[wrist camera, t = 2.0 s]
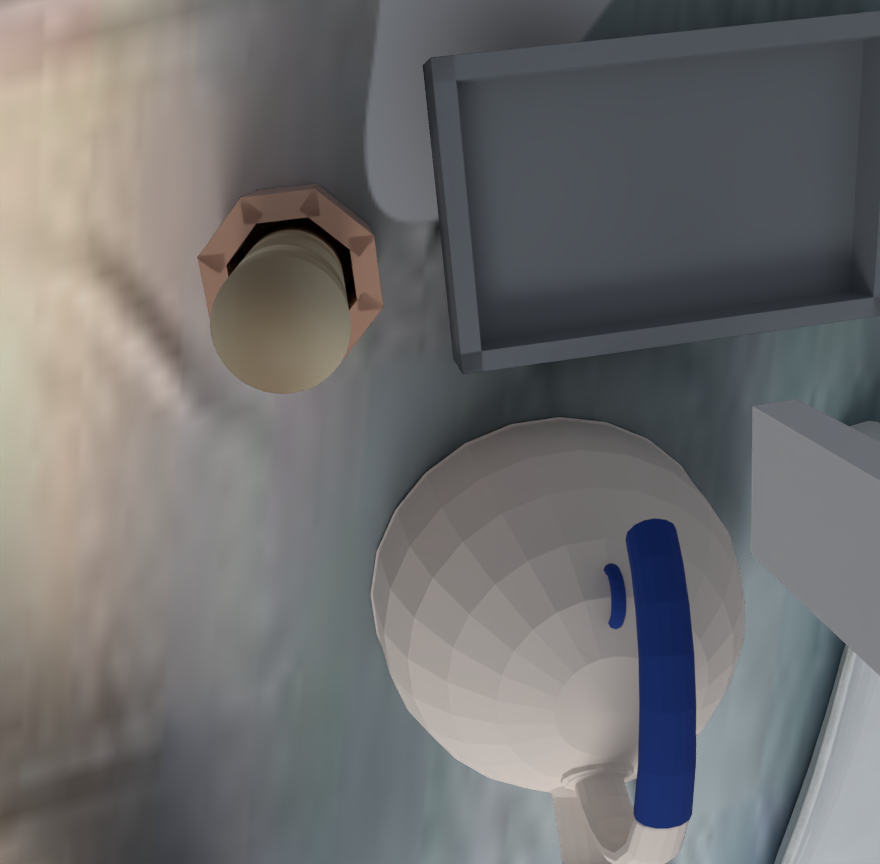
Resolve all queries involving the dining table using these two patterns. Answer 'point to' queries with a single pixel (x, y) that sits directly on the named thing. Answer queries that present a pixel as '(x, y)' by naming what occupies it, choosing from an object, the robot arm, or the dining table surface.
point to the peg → (284, 310)
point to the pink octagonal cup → (303, 203)
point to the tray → (657, 188)
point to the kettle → (565, 625)
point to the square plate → (841, 777)
